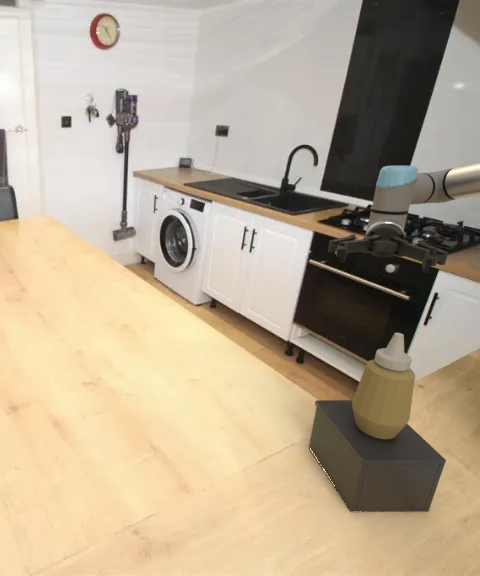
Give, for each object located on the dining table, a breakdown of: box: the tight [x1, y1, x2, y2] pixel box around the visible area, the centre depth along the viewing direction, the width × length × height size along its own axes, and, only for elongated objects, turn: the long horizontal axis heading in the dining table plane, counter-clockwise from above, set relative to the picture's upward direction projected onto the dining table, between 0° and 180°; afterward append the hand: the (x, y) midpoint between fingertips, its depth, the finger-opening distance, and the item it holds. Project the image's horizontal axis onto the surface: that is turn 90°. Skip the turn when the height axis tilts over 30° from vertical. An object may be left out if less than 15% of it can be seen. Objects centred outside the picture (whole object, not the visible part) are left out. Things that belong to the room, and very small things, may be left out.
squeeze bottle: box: [352, 332, 416, 439], centre depth 67 cm, size 8×8×18 cm
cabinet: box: [308, 403, 447, 513], centre depth 72 cm, size 15×13×11 cm
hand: (383, 261), depth 79 cm, fingers open, 13 cm apart
